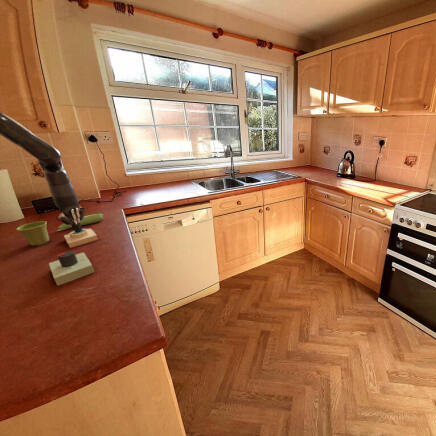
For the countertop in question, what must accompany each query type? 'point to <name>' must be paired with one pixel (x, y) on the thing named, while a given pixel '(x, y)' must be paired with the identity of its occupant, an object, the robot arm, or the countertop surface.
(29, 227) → the plant pot
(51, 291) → the countertop surface
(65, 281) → the panel
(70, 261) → the dial
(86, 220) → the green cucumber
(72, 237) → the button box
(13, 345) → the countertop surface
